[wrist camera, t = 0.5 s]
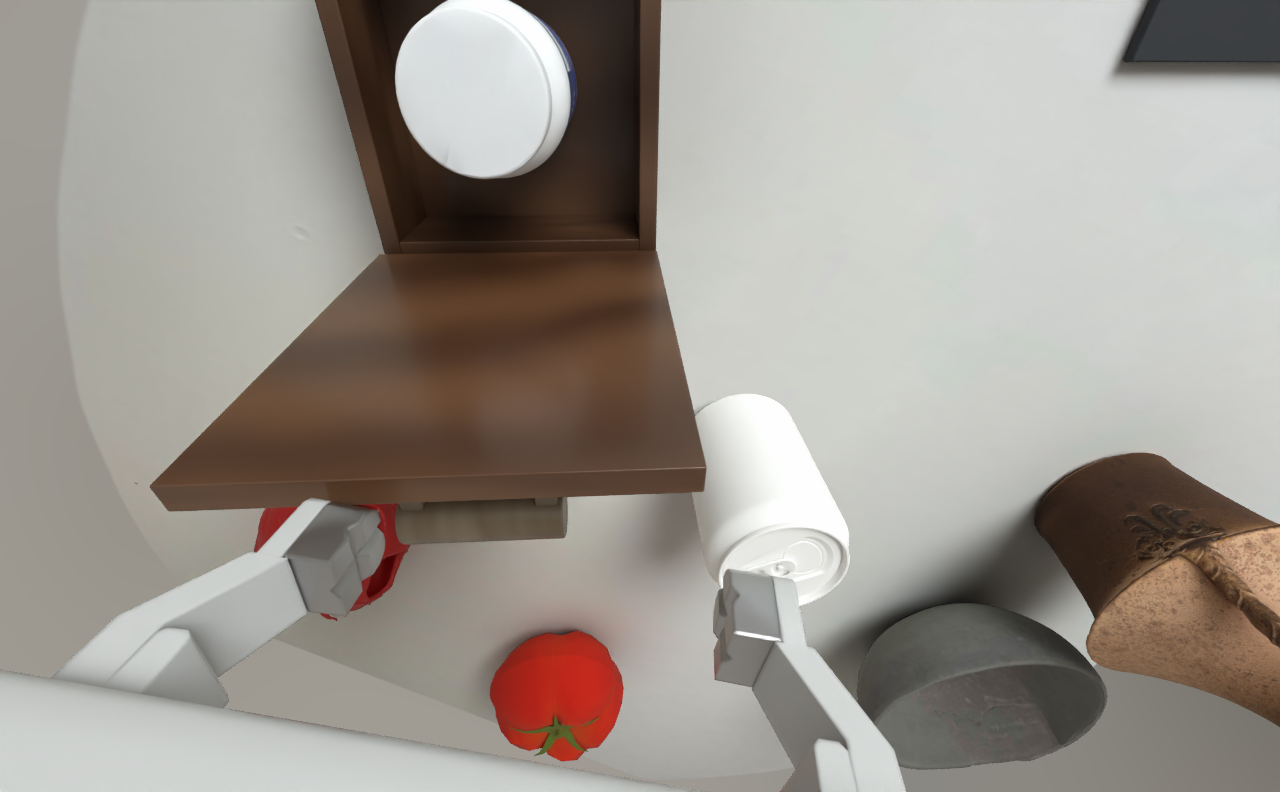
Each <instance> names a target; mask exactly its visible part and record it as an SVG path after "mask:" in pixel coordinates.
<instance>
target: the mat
mask: <svg viewBox="0 0 1280 792" xmlns="http://www.w3.org/2000/svg"><path fill="white" fill-rule="evenodd" d="M1123 61H1125V62H1280V0H1150V1H1149V3H1148V5H1147V8H1146V10H1145V12H1144V14H1143V17H1142V19H1141V21H1140V24H1139V26H1138V28H1137V30H1136V33H1135V35H1134V37H1133V39H1132V42H1131V44H1130V46H1129V48H1128V51H1127V53H1126V55H1125V58H1124V60H1123Z"/></svg>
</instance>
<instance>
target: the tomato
mask: <svg viewBox="0 0 1280 792" xmlns="http://www.w3.org/2000/svg"><path fill="white" fill-rule="evenodd" d="M623 689H624V688H623V682H622V676H621V674H620V672H619V670H618V668H617V666H616V664H615V663H614V662H613V661H612V659H611V657H610V655H609V652H608V650H607V648H606V647H605V646H604V645H603V644H602V643H600V642H599V641H598V640H596V639H595V638H594V637H592V636H591V635H588V634H585V633H583V632H580V631H574V632H571V633H567V634H564V635H557V634H552V633H545V634H542V635H539V636H536V637H532V638H530V639H529V640H527V641H526V642H524V643H523V644H522V645H520V646H519V647H518V648H516V649H515V650H514V651H512V652H511V653H510V655H509V656H508V657H507V659H506V660H505V662H504V663H503V664H502V665H501V666H500V668H499V669H498V670H497V671H496V673H495V675H494V678H493V681H492V683H491V688H490V698H491V701H492V703H493V705H494V707H495V709H496V718H497V721H498V724H499V726H500V730H501V732H502V733H503V734H504V736H505V737H506V738H507V739H508V740H509V742H510V743H511V744H513V745H515V746H517V747H519V748H521V749H525V750H529V751H530V750H534V749H539V748H542V750H541V751H540V752H539V753H538V754H536V755H540V754H543V753H545V752H547V754H548V755H550V756H552V757H554V758H556V759H558V760H560V761H571V760H578V758H579V757H580V756H581V755H582V754H583V753H584V752H585V751H587V750H586V749H589V748H597V747H599V746H600V744H601V743H602V742H603V741H604V740H605V738H606V737H607V736H608V734H609V733H610V731H611V730H612V729H613V727H614V725H615V722H616V720H617V717H618V714H619V711H620V708H621V704H622V698H623ZM587 752H588V751H587ZM536 755H535V756H536Z"/></svg>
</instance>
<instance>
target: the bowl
mask: <svg viewBox="0 0 1280 792" xmlns="http://www.w3.org/2000/svg"><path fill="white" fill-rule="evenodd" d="M857 695H858V704H859V706H860V707H861V708H862V710H863V711H864V712H865V713H866V715H867V716H868V717H869V718H870V720H871V721H872V722H873V724H874V725H875V726H876V727H877V729H878V730H879V731H880V732H881V734H882V735H883V736H884V738H885V739H886V740H887V741H888V743H889V744H890V745H891V746H892V748H893V749H894V751H895V754H896V758H897V761H898V765H899V766H900V767H905V768H910V769H950V768H964V767H970V766H972V765H981V764H989V763H1002V762H1009V761H1017V760H1018V761H1031V760H1034V759H1037V758H1039V757H1042V756H1045V755H1047V754H1050V753H1053V752H1055V751H1057V750H1059V749H1061V748H1063V747H1066V746H1068V745H1070V744H1071V743H1073V742H1075V741H1077V740H1078V739H1079V738H1080V737H1082V736H1083V735H1084V734H1086V733H1087V732H1088V731H1089V730H1090V729H1091V728H1092V727H1093V726H1094V725H1095V723H1096V722H1097V720H1098V719H1099V718H1100V716H1101V715H1102V713H1103V711H1104V708H1105V706H1106V702H1107V690H1106V687H1105V685H1104V683H1103V681H1102V679H1101V677H1100V676H1099V675H1098V673H1097V672H1096V670H1095V669H1094V668H1093V667H1092V665H1091V664H1090V663H1089V662H1088V660H1087V659H1086V658H1085V657H1084V656H1083V655H1082V654H1081V653H1080V652H1079V651H1078V650H1077V649H1076V648H1075V647H1074V646H1073V645H1072V644H1070V643H1069V642H1068V641H1067V640H1066V639H1064V638H1063V637H1062V636H1060V635H1059V634H1057V633H1056V632H1055V631H1053V630H1051V629H1050V628H1048V627H1046V626H1044V625H1042V624H1040V623H1039V622H1037V621H1034V620H1032V619H1030V618H1028V617H1025V616H1023V615H1021V614H1018V613H1015V612H1012V611H1009V610H1006V609H1003V608H998V607H994V606H990V605H983V604H973V603H959V604H948V605H941V606H937V607H932V608H929V609H926V610H923V611H920V612H918V613H915V614H913V615H910V616H908V617H906V618H904V619H902V620H900V621H899V622H897V623H895V624H894V625H892V626H891V627H890V628H888V629H887V630H886V631H885V632H883V633H882V634H881V635H880V636H879V637H878V638H877V639H876V640H875V642H874V643H873V644H872V646H871V647H870V649H869V650H868V652H867V654H866V655H865V658H864V660H863V663H862V665H861V669H860V672H859V677H858V689H857Z"/></svg>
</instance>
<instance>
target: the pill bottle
mask: <svg viewBox="0 0 1280 792" xmlns="http://www.w3.org/2000/svg"><path fill="white" fill-rule="evenodd" d="M395 85H396V95H397V99H398V103H399V108H400V110H401V113H402V116H403V118H404V121H405V123H406V125H407V127H408V129H409V130H410V132H411V134H412V135H413V137H414V138H415V140H416V141H417V142H418V144H419V145H420V146H421V147H422V148H423V150H424V151H425V152H426V153H427V154H428V155H429V156H430V157H432V158H433V159H434V160H435V161H437V162H438V163H439V164H441V165H442V166H444V167H445V168H447V169H449V170H451V171H453V172H455V173H458V174H460V175H463V176H466V177H471V178H477V179H493V178H510V177H515V176H519V175H523V174H525V173H528V172H530V171H532V170H534V169H535V168H537V167H538V166H540V165H541V164H542V163H544V162H545V161H546V160H547V159H548V158H549V157H550V156H551V155H552V154H553V152H554V151H555V150H556V148H557V147H558V145H559V143H560V142H561V140H562V138H563V136H564V134H565V131H566V129H567V127H568V125H569V123H570V121H571V119H572V116H573V113H574V110H575V106H576V100H577V81H576V74H575V69H574V66H573V63H572V60H571V57H570V55H569V53H568V51H567V49H566V47H565V45H564V43H563V42H562V40H561V39H560V37H559V36H558V35H557V34H556V33H555V32H554V30H553V29H552V28H551V27H550V26H548V25H547V24H546V23H545V22H544V21H542V20H541V19H540V18H538V17H537V16H535V15H534V14H532V13H530V12H529V11H527V10H525V9H524V8H522V7H521V6H519V5H517V4H516V3H513V2H511V1H509V0H447V1H445V2H444V3H442V4H441V5H439V6H438V7H436V8H435V9H434V10H433V11H432V12H431V13H430V14H428V15H426V16H425V17H424V18H422V19H421V20H420V21H418V22H417V23H416V24H415V25H414V26H413V27H412V29H411V30H410V31H409V33H408V34H407V36H406V38H405V39H404V41H403V43H402V45H401V48H400V51H399V54H398V58H397V62H396V71H395Z"/></svg>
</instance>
